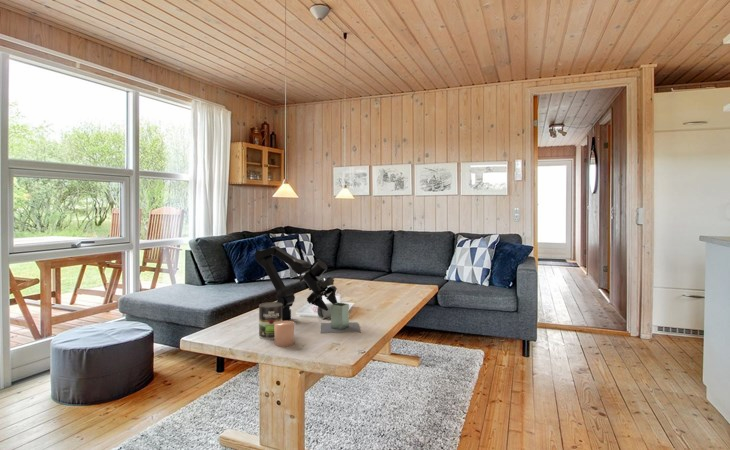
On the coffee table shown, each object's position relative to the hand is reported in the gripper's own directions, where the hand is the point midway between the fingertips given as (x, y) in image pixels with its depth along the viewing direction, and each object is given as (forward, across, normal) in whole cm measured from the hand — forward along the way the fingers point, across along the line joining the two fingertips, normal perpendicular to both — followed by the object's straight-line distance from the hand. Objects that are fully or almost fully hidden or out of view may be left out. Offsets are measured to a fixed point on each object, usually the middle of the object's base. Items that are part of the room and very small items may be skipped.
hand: (332, 308), depth 193 cm
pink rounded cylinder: (+3, -30, +10) cm, 32 cm away
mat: (+9, 0, +4) cm, 10 cm away
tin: (+9, 0, +3) cm, 10 cm away
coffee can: (-6, -24, +19) cm, 31 cm away
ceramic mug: (-2, +14, +16) cm, 21 cm away
